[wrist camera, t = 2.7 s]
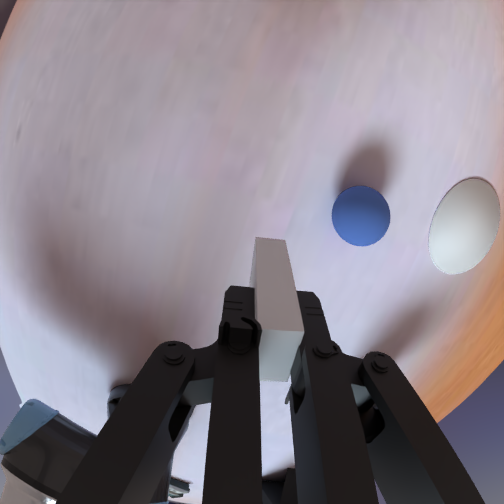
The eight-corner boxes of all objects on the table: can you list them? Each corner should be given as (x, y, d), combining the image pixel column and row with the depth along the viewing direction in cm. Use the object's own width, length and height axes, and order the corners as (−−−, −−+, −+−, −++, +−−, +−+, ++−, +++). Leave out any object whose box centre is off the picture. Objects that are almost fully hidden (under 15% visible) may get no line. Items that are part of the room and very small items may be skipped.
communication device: (126, 458, 62) (120, 482, 55) (191, 483, 70) (189, 505, 62) (112, 462, 66) (107, 483, 58) (172, 486, 74) (170, 506, 66)
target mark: (414, 270, 31) (414, 270, 31) (446, 166, 25) (447, 167, 25) (478, 276, 32) (479, 276, 32) (509, 191, 26) (509, 192, 26)
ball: (320, 227, 29) (334, 253, 24) (331, 174, 26) (349, 191, 21) (368, 234, 29) (389, 259, 24) (382, 184, 26) (407, 202, 22)
